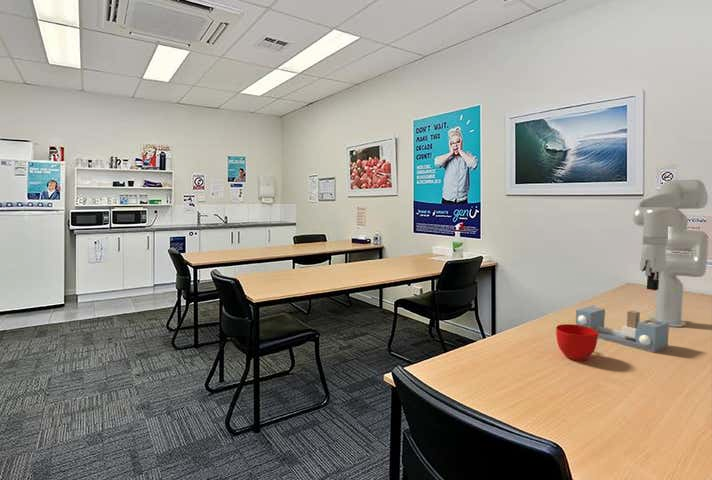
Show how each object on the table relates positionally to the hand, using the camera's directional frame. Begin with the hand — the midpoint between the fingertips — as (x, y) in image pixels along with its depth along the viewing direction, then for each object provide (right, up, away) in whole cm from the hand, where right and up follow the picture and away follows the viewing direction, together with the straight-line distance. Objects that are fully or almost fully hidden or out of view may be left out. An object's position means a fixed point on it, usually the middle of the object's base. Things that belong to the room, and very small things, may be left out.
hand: (652, 289), depth 153 cm
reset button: (-1, -16, -2) cm, 16 cm away
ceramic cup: (-34, -23, -8) cm, 42 cm away
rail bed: (-7, -21, +9) cm, 24 cm away
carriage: (-5, -19, +4) cm, 20 cm away
